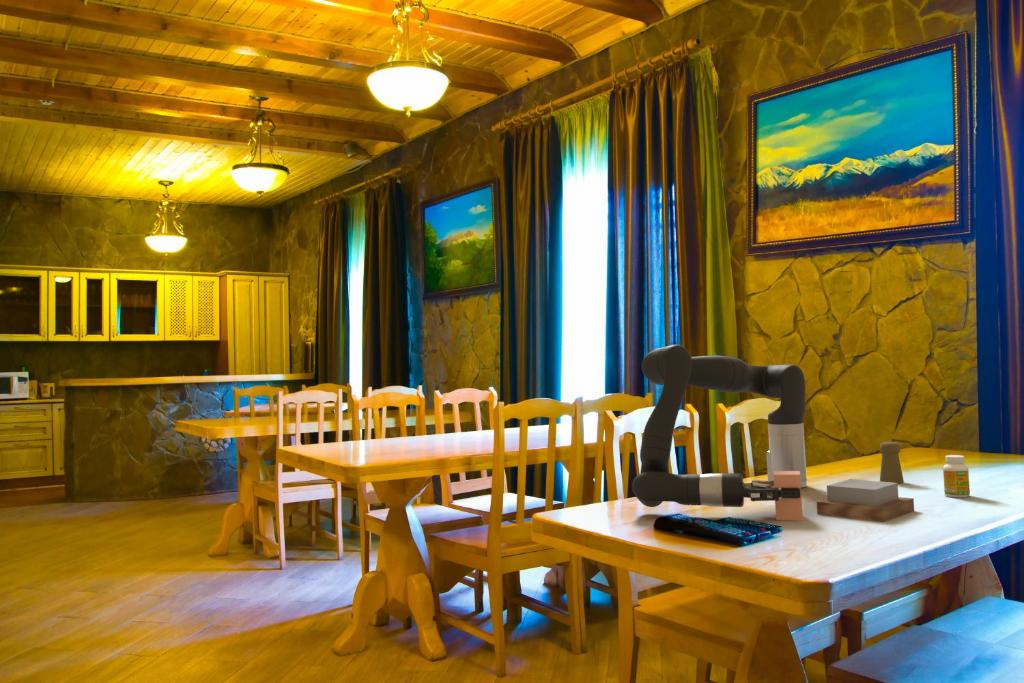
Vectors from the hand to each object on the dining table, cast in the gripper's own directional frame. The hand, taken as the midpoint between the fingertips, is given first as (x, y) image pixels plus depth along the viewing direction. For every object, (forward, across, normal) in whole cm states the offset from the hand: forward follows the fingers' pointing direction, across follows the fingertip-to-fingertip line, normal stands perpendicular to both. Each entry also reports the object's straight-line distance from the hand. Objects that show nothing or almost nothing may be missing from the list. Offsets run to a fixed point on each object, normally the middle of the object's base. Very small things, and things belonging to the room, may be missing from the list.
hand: (799, 490), depth 178 cm
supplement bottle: (+36, +31, +6) cm, 48 cm away
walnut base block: (+14, +8, +7) cm, 17 cm away
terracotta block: (-3, 0, +6) cm, 7 cm away
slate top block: (+13, +8, +3) cm, 16 cm away
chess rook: (+24, +52, +6) cm, 57 cm away
